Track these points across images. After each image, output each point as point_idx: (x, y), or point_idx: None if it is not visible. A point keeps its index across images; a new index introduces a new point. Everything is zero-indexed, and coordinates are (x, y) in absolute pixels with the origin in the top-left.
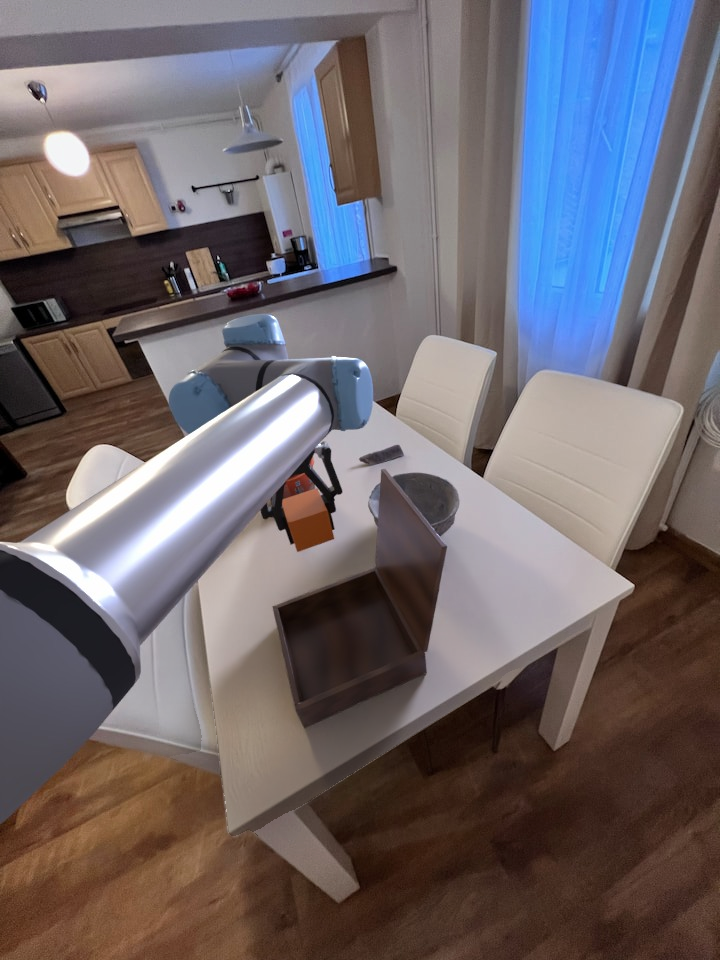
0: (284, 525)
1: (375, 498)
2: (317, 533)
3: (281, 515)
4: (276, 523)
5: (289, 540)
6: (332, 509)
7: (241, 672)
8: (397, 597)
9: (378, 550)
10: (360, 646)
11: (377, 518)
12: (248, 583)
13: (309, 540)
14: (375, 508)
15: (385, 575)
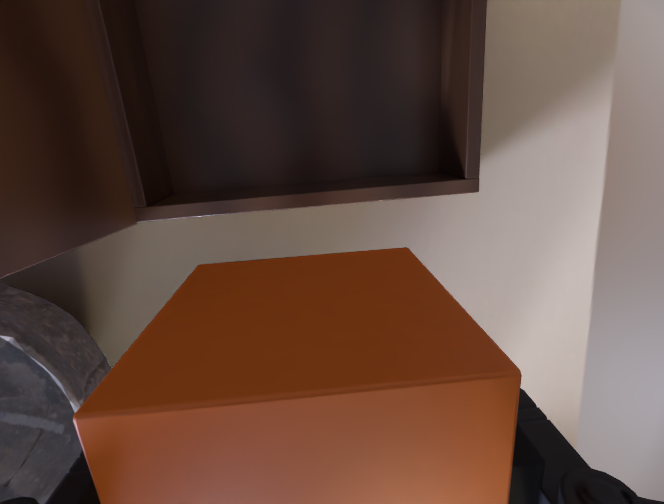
0: None
1: None
2: (273, 288)
3: (534, 491)
4: (555, 430)
5: None
6: None
7: (560, 78)
8: (61, 18)
9: (69, 225)
10: (260, 17)
11: (69, 393)
12: (494, 329)
13: (334, 270)
14: None
15: (91, 137)
